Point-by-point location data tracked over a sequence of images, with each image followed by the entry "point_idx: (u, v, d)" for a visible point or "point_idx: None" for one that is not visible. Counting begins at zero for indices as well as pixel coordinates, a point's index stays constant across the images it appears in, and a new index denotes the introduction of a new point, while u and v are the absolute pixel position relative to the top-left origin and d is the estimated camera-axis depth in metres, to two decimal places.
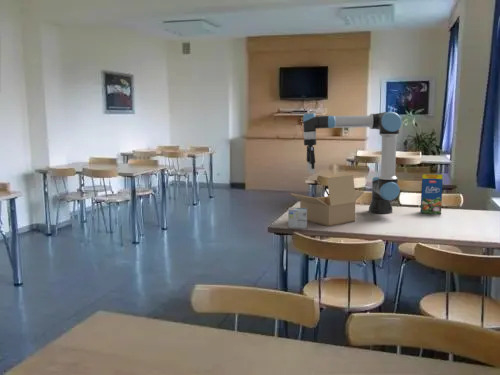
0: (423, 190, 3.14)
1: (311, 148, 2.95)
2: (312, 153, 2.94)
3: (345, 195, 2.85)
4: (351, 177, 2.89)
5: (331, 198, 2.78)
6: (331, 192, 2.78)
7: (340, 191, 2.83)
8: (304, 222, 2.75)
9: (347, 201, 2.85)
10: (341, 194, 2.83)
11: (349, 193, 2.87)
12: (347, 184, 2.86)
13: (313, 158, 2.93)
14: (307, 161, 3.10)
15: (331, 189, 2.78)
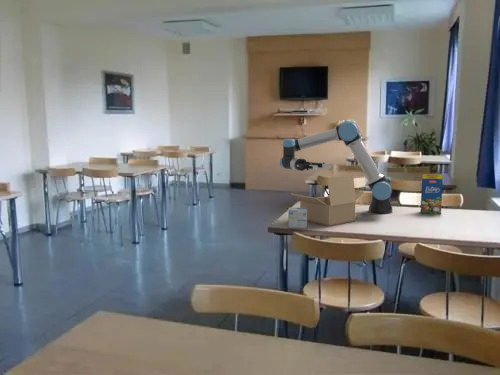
0: (423, 190, 3.14)
1: (297, 166, 3.03)
2: (300, 166, 3.00)
3: (345, 195, 2.85)
4: (351, 177, 2.89)
5: (331, 198, 2.78)
6: (331, 192, 2.78)
7: (340, 191, 2.83)
8: (304, 222, 2.75)
9: (347, 201, 2.85)
10: (341, 194, 2.83)
11: (349, 193, 2.87)
12: (347, 184, 2.86)
13: (302, 166, 2.97)
14: None
15: (331, 189, 2.78)
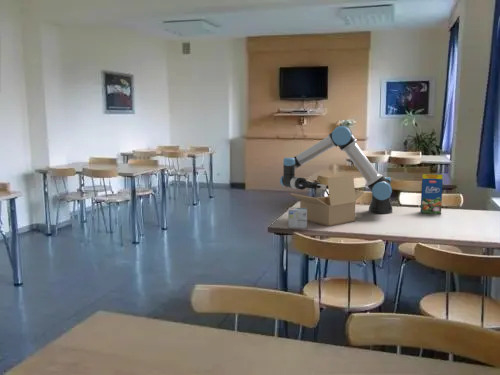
0: (423, 190, 3.14)
1: (300, 185, 3.03)
2: (305, 185, 3.01)
3: (345, 195, 2.85)
4: (351, 177, 2.89)
5: (331, 198, 2.78)
6: (331, 192, 2.78)
7: (340, 191, 2.83)
8: (304, 222, 2.75)
9: (347, 201, 2.85)
10: (341, 194, 2.83)
11: (349, 193, 2.87)
12: (347, 184, 2.86)
13: (309, 185, 2.99)
14: None
15: (331, 189, 2.78)
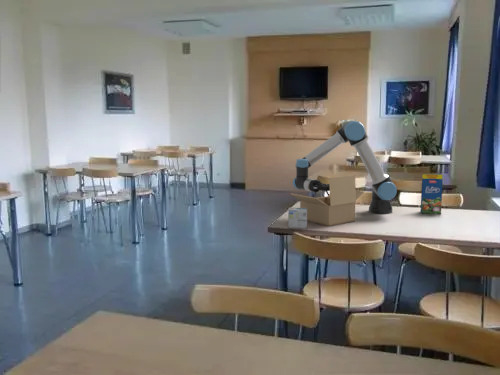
0: (423, 190, 3.14)
1: (314, 188, 2.92)
2: (319, 188, 2.90)
3: (346, 195, 2.85)
4: (353, 177, 2.88)
5: (331, 198, 2.78)
6: (332, 192, 2.78)
7: (341, 191, 2.82)
8: (304, 222, 2.75)
9: (347, 201, 2.85)
10: (341, 194, 2.82)
11: (350, 193, 2.87)
12: (348, 184, 2.86)
13: (324, 188, 2.88)
14: None
15: (332, 189, 2.78)
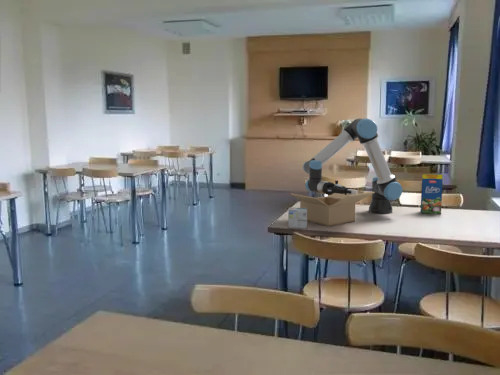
0: (423, 190, 3.14)
1: (329, 191, 2.82)
2: (334, 190, 2.81)
3: (351, 201, 2.82)
4: (371, 193, 2.78)
5: (336, 204, 2.75)
6: (341, 201, 2.73)
7: (350, 200, 2.78)
8: (304, 222, 2.75)
9: (347, 203, 2.85)
10: (348, 201, 2.79)
11: (356, 200, 2.83)
12: (361, 196, 2.79)
13: (339, 190, 2.78)
14: None
15: (343, 200, 2.72)
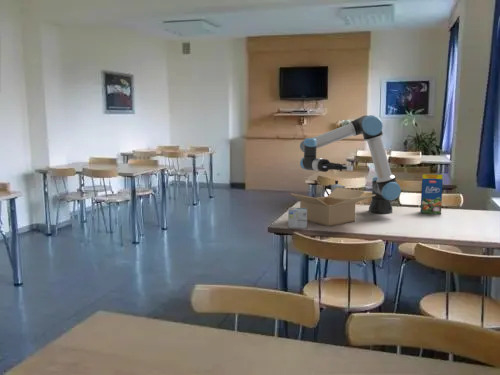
0: (423, 190, 3.14)
1: (324, 167, 2.83)
2: (329, 167, 2.82)
3: (351, 202, 2.82)
4: (372, 196, 2.78)
5: (336, 204, 2.75)
6: (341, 203, 2.73)
7: (350, 201, 2.78)
8: (304, 222, 2.75)
9: (347, 203, 2.85)
10: (348, 202, 2.79)
11: (356, 201, 2.83)
12: (362, 198, 2.78)
13: (334, 166, 2.80)
14: None
15: (343, 202, 2.72)
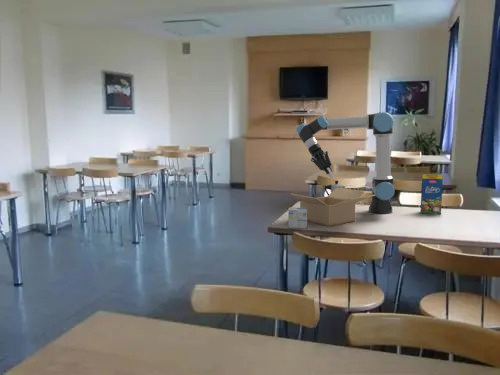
0: (423, 190, 3.14)
1: (311, 160, 3.03)
2: (316, 163, 3.03)
3: (351, 202, 2.82)
4: (372, 196, 2.78)
5: (336, 204, 2.75)
6: (341, 203, 2.73)
7: (350, 201, 2.78)
8: (304, 222, 2.75)
9: (347, 203, 2.85)
10: (348, 202, 2.79)
11: (356, 201, 2.83)
12: (362, 198, 2.78)
13: (319, 167, 3.02)
14: None
15: (343, 202, 2.72)
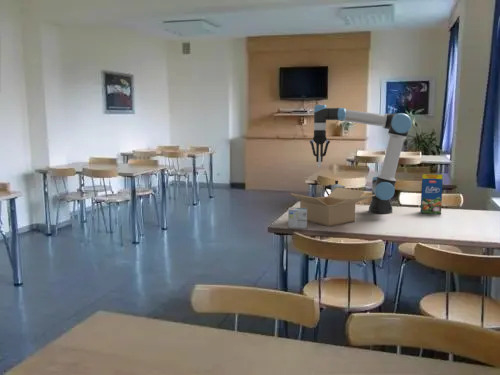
0: (423, 190, 3.14)
1: (310, 142, 3.09)
2: None
3: (351, 202, 2.82)
4: (372, 196, 2.78)
5: (336, 204, 2.75)
6: (341, 203, 2.73)
7: (350, 201, 2.78)
8: (304, 222, 2.75)
9: (347, 203, 2.85)
10: (348, 202, 2.79)
11: (356, 201, 2.83)
12: (362, 198, 2.78)
13: (313, 152, 3.09)
14: (320, 155, 3.11)
15: (343, 202, 2.72)
